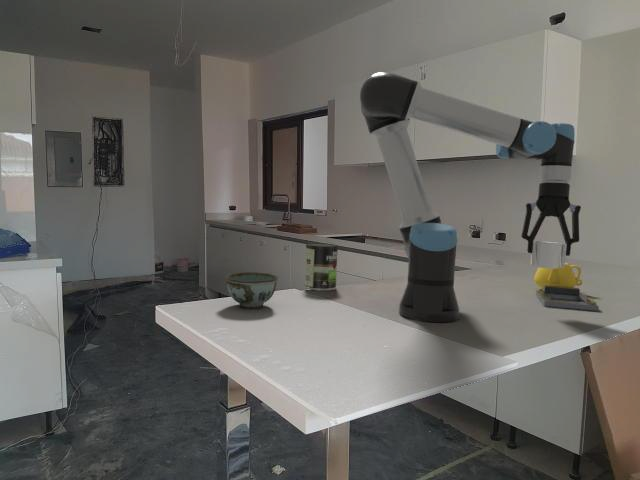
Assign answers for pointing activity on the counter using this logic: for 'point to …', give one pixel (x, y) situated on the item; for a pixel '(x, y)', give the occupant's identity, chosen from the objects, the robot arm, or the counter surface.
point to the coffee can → (321, 266)
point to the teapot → (558, 276)
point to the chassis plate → (567, 294)
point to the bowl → (251, 288)
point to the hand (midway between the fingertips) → (547, 266)
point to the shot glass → (548, 254)
